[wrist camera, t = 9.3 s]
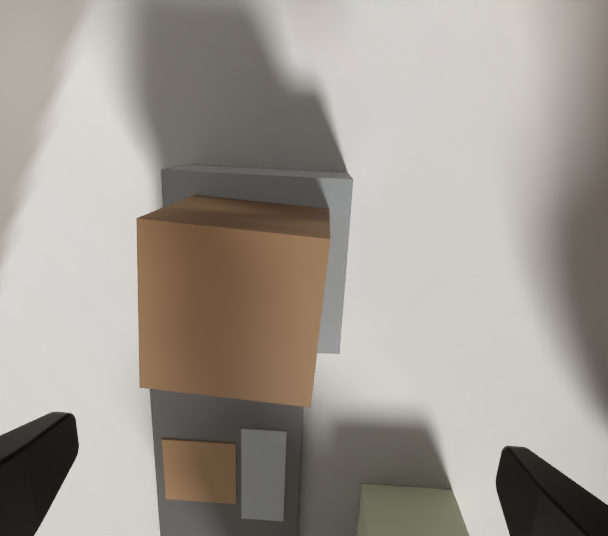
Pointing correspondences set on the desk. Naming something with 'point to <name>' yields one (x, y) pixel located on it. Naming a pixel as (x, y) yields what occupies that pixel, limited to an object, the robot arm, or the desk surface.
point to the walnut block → (231, 298)
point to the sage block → (409, 512)
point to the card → (226, 465)
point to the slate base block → (283, 190)
